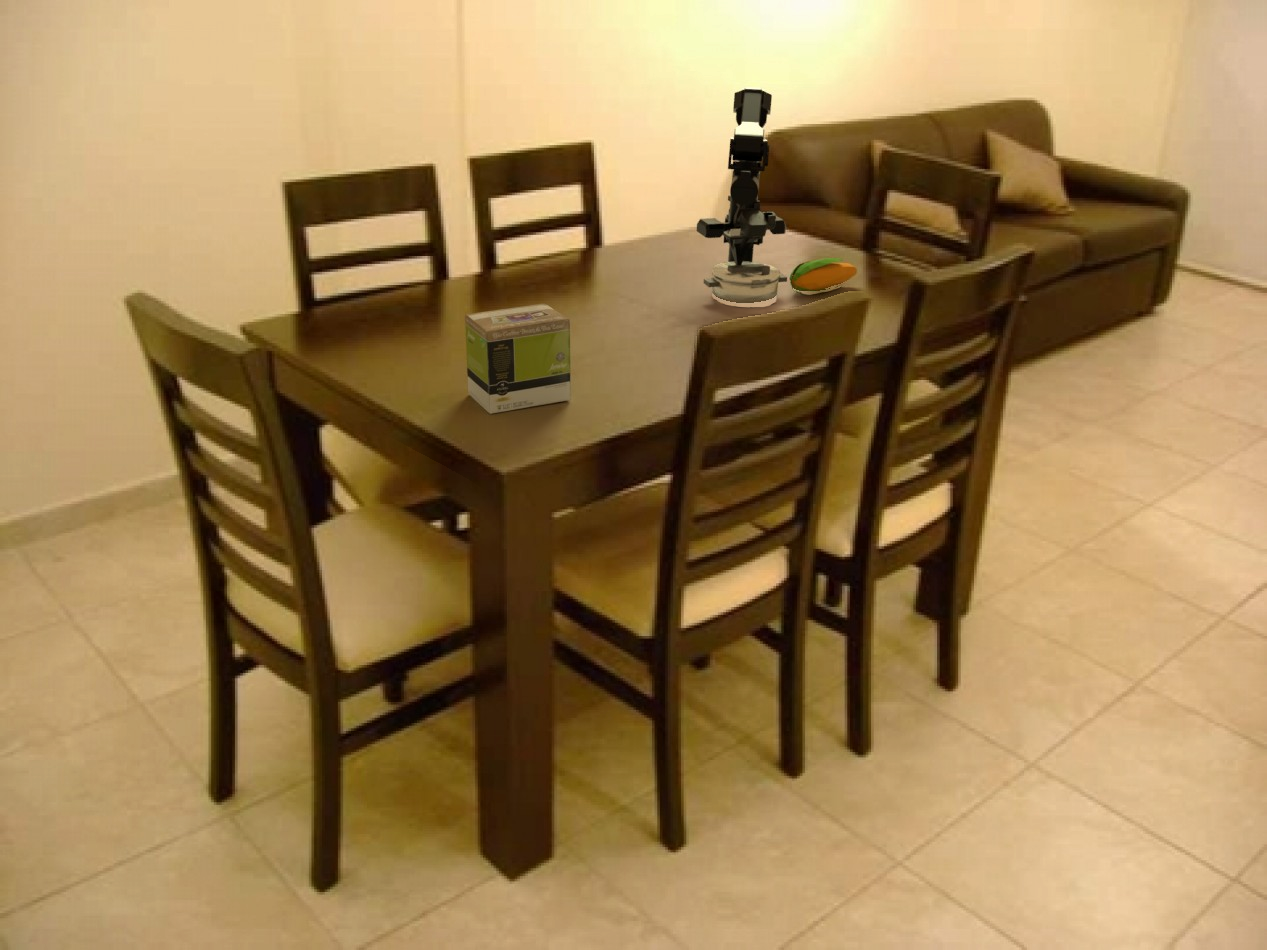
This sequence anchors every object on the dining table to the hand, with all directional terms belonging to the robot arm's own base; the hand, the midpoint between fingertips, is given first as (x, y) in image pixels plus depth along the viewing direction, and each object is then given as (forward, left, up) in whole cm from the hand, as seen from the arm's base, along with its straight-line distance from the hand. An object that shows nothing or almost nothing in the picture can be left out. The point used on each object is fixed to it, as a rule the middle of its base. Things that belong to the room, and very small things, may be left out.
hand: (738, 265), depth 261 cm
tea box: (+47, -62, -6) cm, 78 cm away
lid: (+5, 0, -1) cm, 5 cm away
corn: (+3, +20, -6) cm, 21 cm away
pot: (+4, 0, -6) cm, 8 cm away
